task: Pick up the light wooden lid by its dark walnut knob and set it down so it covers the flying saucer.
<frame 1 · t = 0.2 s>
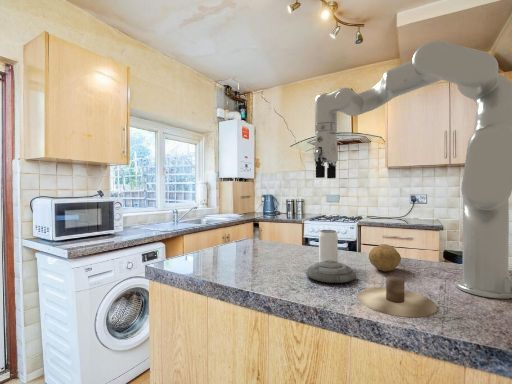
hand: (326, 178, 103), 31 cm above the counter, fingers open, 9 cm apart
potato: (384, 271, 96), on the counter
can: (328, 264, 104), on the counter
lid: (395, 302, 70), on the counter
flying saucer: (330, 279, 88), on the counter
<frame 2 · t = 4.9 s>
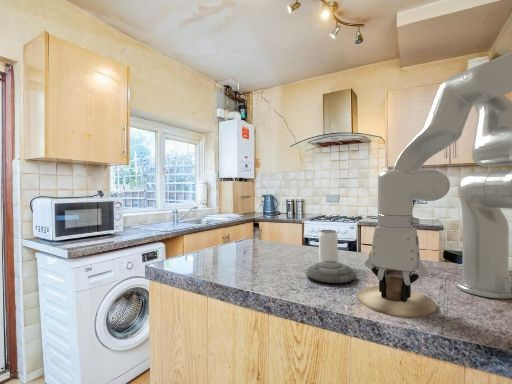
hand: (394, 297, 70), 1 cm above the counter, fingers closed on lid, 4 cm apart
lid: (394, 301, 70), on the counter, touching gripper
everything else where it was.
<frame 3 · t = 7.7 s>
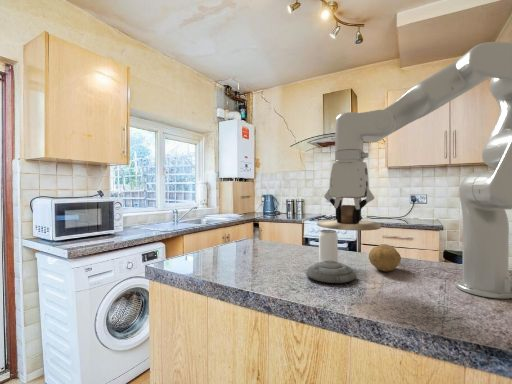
hand: (348, 222, 82), 18 cm above the counter, fingers closed on lid, 4 cm apart
lid: (347, 225, 82), point 17 cm above the counter, touching gripper
everything else where it was.
when the fingers open (7 cm above the counter, at t = 10.8 s): lid drops 1 cm, point 5 cm above the counter.
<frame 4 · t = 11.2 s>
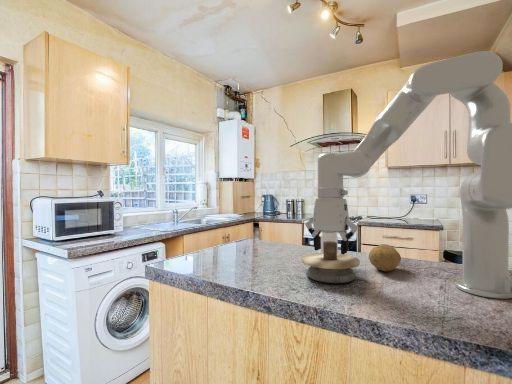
hand: (330, 251, 88), 8 cm above the counter, fingers open, 8 cm apart
lid: (330, 261, 88), point 5 cm above the counter
everything else where it was.
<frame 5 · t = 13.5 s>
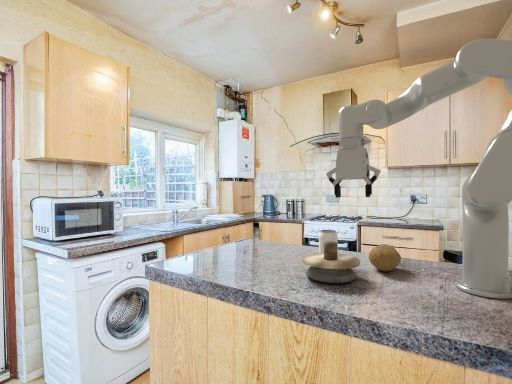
hand: (352, 197, 94), 24 cm above the counter, fingers open, 9 cm apart
lid: (330, 261, 88), point 5 cm above the counter, touching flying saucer
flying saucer: (330, 279, 88), on the counter, touching lid
everything else where it was.
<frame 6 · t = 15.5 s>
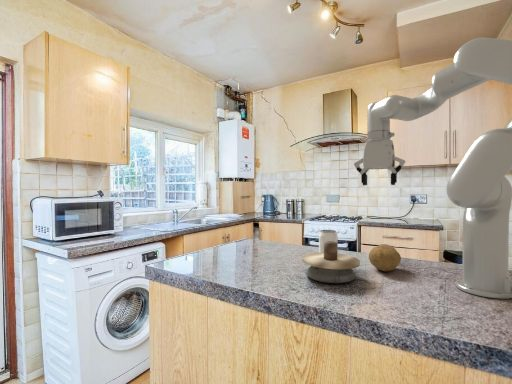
hand: (378, 185, 104), 28 cm above the counter, fingers open, 9 cm apart
nothing on the counter moved.
at the end: lid 0.3 cm from the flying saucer (horizontally); lid point 5.0 cm above the counter; lid tilted 0° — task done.
